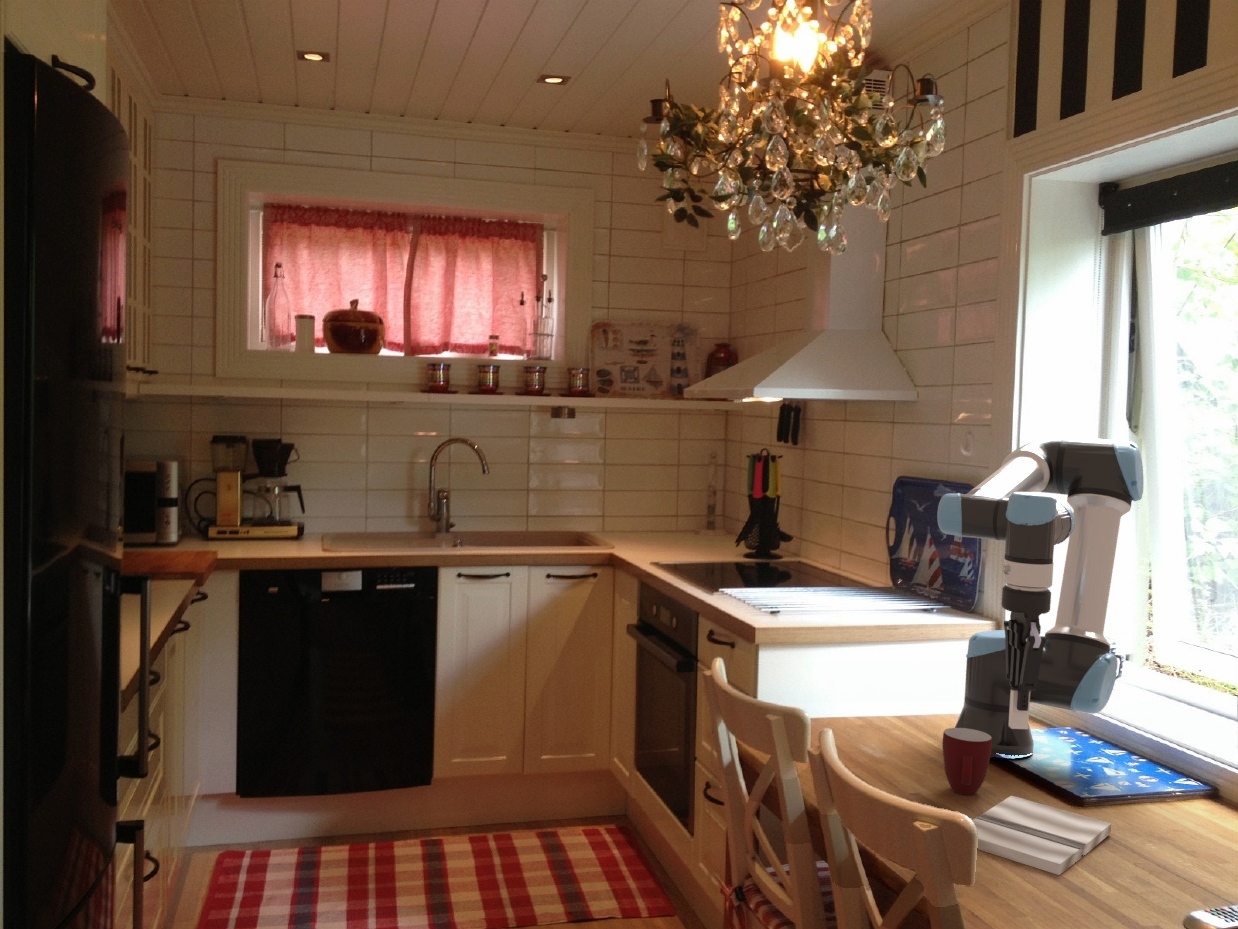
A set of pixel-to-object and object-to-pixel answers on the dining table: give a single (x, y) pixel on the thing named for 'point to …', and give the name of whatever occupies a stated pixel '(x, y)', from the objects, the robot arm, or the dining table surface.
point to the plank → (1050, 822)
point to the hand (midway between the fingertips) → (1018, 727)
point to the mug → (966, 758)
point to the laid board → (1026, 846)
